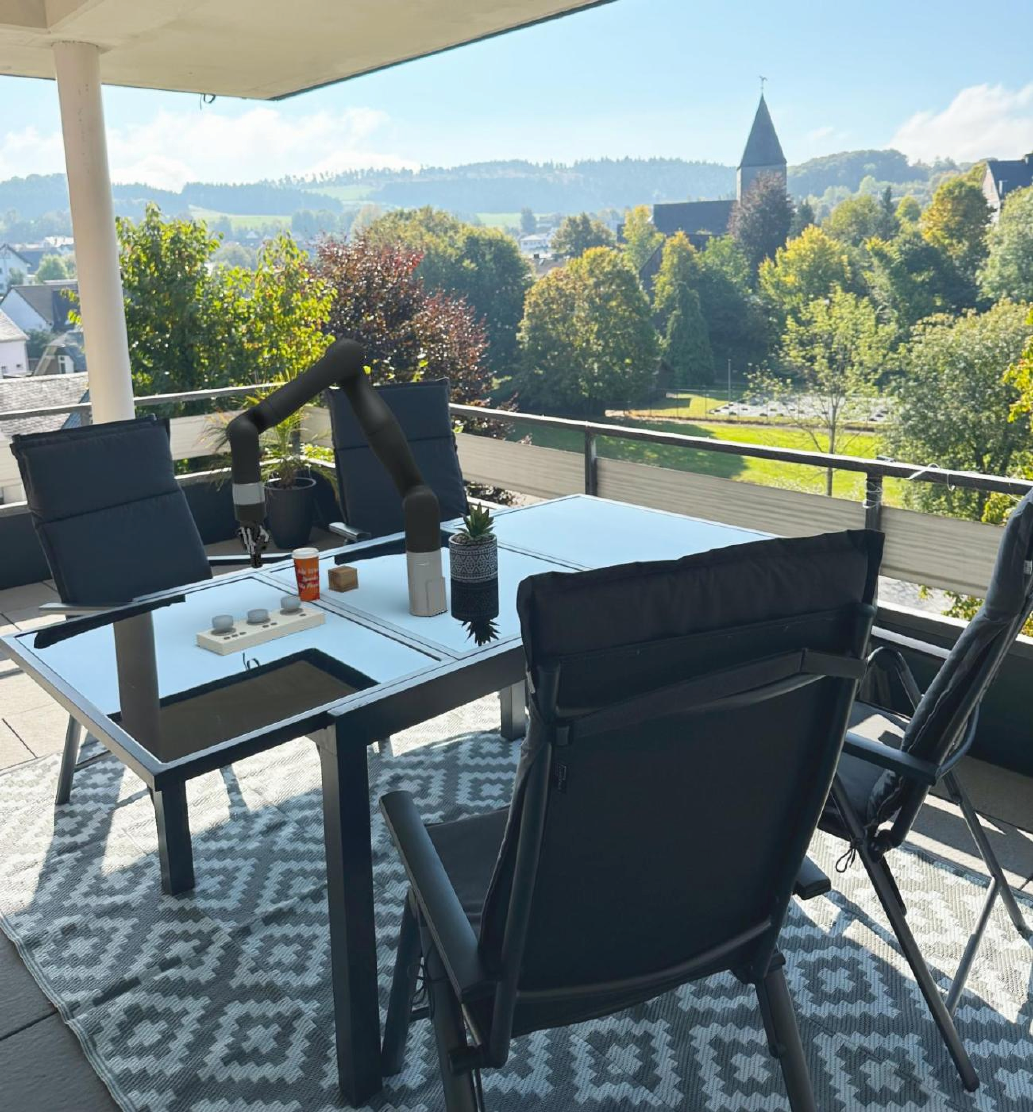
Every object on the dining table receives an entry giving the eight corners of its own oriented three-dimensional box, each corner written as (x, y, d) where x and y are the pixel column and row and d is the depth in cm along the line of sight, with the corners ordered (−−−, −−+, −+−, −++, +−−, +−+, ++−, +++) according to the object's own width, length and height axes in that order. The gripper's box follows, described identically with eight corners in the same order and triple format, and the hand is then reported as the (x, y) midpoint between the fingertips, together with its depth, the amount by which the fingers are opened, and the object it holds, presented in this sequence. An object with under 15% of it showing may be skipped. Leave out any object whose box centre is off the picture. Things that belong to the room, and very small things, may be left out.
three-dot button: (237, 625, 247) (236, 617, 246) (219, 630, 243) (218, 622, 243) (226, 621, 250) (225, 613, 249) (208, 626, 246) (207, 618, 246)
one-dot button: (304, 605, 261) (303, 598, 260) (288, 610, 257) (287, 602, 257) (293, 602, 264) (292, 594, 263) (277, 606, 260) (276, 599, 260)
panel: (325, 623, 260) (324, 611, 259) (223, 655, 239) (222, 642, 238) (298, 614, 268) (297, 603, 267) (197, 645, 247) (195, 632, 246)
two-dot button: (272, 618, 254) (271, 611, 253) (255, 623, 250) (254, 616, 250) (261, 615, 257) (260, 607, 257) (244, 620, 254) (243, 612, 253)
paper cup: (300, 604, 278) (295, 555, 274) (292, 597, 284) (288, 549, 281) (327, 599, 281) (323, 551, 277) (319, 592, 288) (315, 545, 284)
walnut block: (358, 588, 291) (357, 568, 290) (342, 593, 287) (340, 573, 285) (345, 584, 295) (344, 565, 294) (329, 589, 291) (327, 569, 289)
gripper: (277, 500, 245) (284, 568, 249) (247, 494, 254) (254, 560, 258) (251, 505, 240) (259, 575, 244) (221, 499, 248) (229, 567, 253)
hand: (256, 567), depth 251 cm, fingers closed
